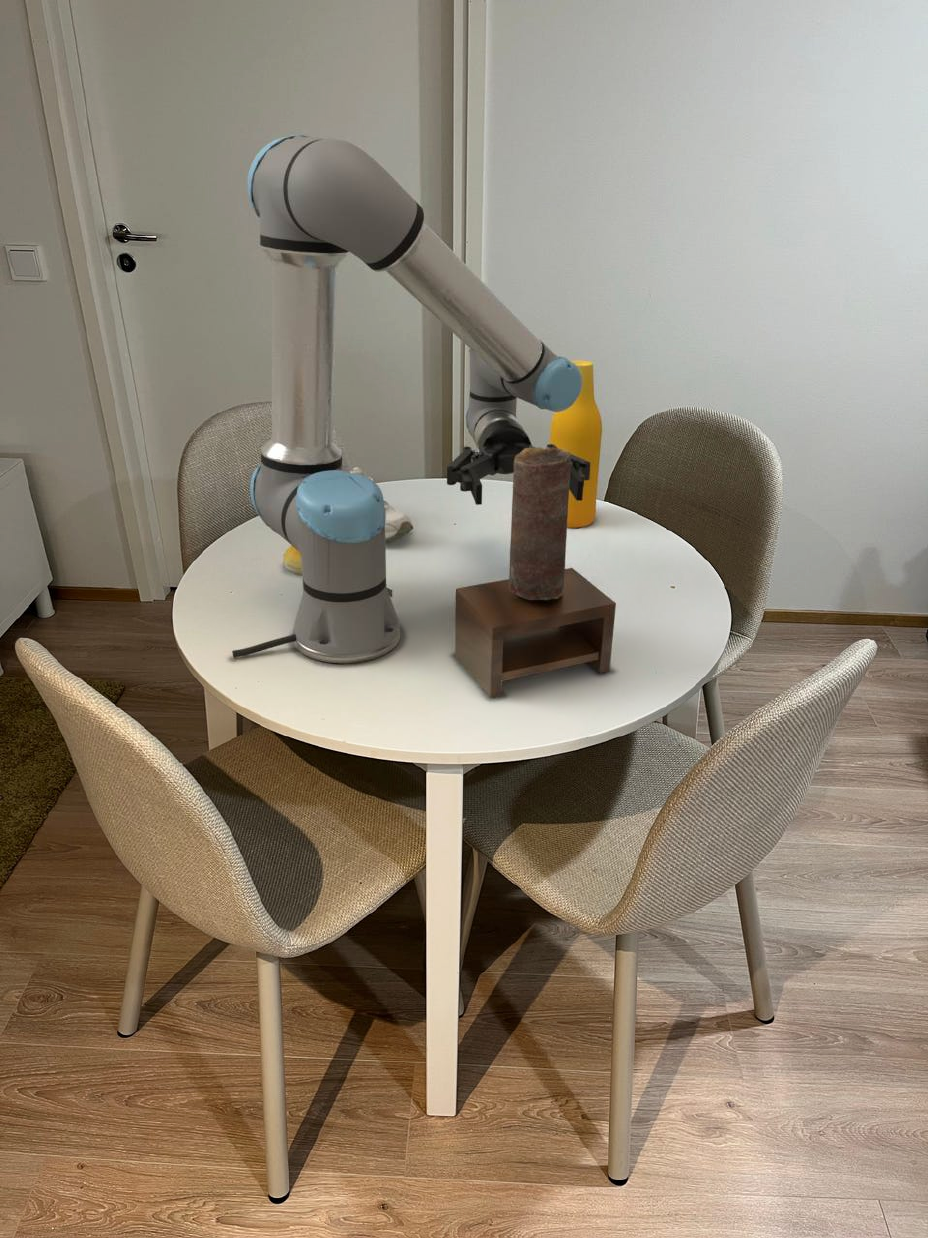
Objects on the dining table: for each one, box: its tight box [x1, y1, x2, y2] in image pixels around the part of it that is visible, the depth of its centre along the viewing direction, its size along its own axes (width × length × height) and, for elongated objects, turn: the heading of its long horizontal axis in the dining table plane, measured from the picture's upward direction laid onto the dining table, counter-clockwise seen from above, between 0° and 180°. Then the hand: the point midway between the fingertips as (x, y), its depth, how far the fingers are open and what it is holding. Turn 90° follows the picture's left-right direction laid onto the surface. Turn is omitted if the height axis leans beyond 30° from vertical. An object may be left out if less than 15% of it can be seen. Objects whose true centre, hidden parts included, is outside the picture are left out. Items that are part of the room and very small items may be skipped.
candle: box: [508, 446, 571, 600], centre depth 126 cm, size 8×7×20 cm
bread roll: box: [282, 545, 302, 575], centre depth 162 cm, size 8×9×4 cm
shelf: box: [454, 567, 617, 699], centre depth 133 cm, size 18×12×10 cm, turn 113°
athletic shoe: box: [342, 466, 414, 542], centre depth 176 cm, size 10×23×12 cm, turn 52°
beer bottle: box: [549, 359, 603, 529], centre depth 176 cm, size 9×9×29 cm
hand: (530, 493), depth 130 cm, fingers open, 13 cm apart
